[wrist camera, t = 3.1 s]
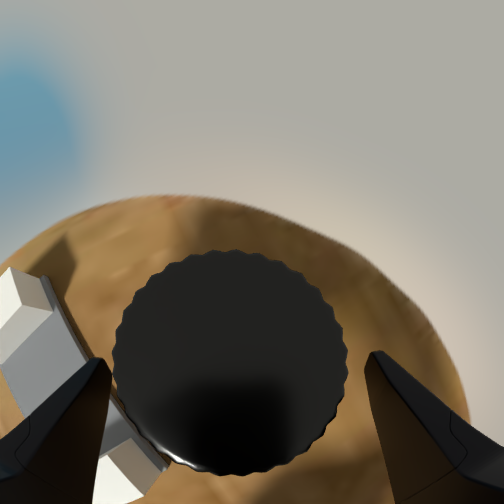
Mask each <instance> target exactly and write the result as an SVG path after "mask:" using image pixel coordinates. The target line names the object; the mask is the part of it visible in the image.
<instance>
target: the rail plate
mask: <svg viewBox="0 0 504 504" xmlns="http://www.w3.org/2000/svg"><path fill="white" fill-rule="evenodd" d="M88 361H89V358H88V357H87V355H86V353H85V352H84V350H83V348H82V346H81V345H80V343H79V341H78V339H77V337H76V335H75V334H74V332H73V330H72V328H71V326H70V324H69V322H68V320H67V318H66V316H65V314H64V312H63V310H62V308H61V306H60V303H59V301H58V299H57V297H56V295H55V292H54V290H53V288H52V285H51V283H50V281H49V278H48V276H45V275H43V276H42V277H41V278H40V279H39V278H36V277H34V276H31V275H29V274H26V273H24V272H21V271H19V270H16V269H14V268H12V267H9V268H8V269H7V270H6V271H5V273H4V274H3V275H2V276H1V277H0V368H1V371H2V373H3V375H4V378H5V380H6V382H7V384H8V386H9V388H10V391H11V393H12V395H13V397H14V399H15V401H16V403H17V405H18V407H19V408H20V410H21V412H22V414H23V416H24V418H26V417H27V416H28V415H30V414H31V413H32V412H33V411H34V410H35V409H36V408H37V407H38V406H39V405H40V404H41V403H42V402H44V401H45V400H46V399H47V398H48V397H49V396H50V395H51V394H52V393H53V392H54V391H55V390H57V389H58V388H59V387H60V386H61V385H62V384H63V383H64V382H65V381H66V380H68V379H69V378H70V377H71V376H72V375H73V374H74V373H75V372H76V371H77V370H79V369H80V368H81V367H82V366H83V365H84V364H85V363H86V362H88ZM168 467H169V465H168V464H167V463H166V462H165V461H164V460H163V459H162V457H161V456H160V455H159V454H158V453H157V452H156V451H155V450H154V448H153V447H152V446H151V445H150V444H149V443H148V441H147V440H146V439H145V438H143V437H142V436H140V435H139V433H138V431H137V428H136V427H135V426H134V424H133V423H132V422H131V421H130V420H129V419H128V417H127V416H126V414H125V413H124V411H123V410H122V408H121V407H120V406H119V404H118V403H117V402H116V400H115V399H114V397H113V396H112V394H111V393H110V400H109V408H108V415H107V420H106V425H105V430H104V434H103V439H102V444H101V450H100V455H99V461H98V467H97V473H96V479H95V486H94V494H93V502H92V504H126V503H129V502H131V501H134V500H136V499H138V498H141V497H143V496H144V495H145V494H146V493H147V491H148V490H149V489H150V487H151V486H152V485H153V483H154V482H155V481H156V479H157V478H158V477H159V475H160V474H161V472H163V471H165V470H167V469H168Z"/></svg>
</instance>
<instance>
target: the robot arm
mask: <svg viewBox="0 0 504 504" xmlns="http://www.w3.org/2000/svg"><path fill="white" fill-rule="evenodd" d="M364 374H365V379H366V384H367V390H368V395H369V401H370V407H371V411H372V415H373V419H374V422H375V426H376V429H377V433H378V436H379V440H380V444H381V447H382V451H383V455H384V459H385V463H386V467H387V471H388V475H389V479H390V483H391V487H392V492H393V496H394V501H395V504H504V447H503V446H500V445H499V444H497V443H496V442H494V441H493V440H491V439H490V438H488V437H487V436H485V435H484V434H482V433H481V432H480V431H478V430H476V429H475V428H474V427H472V426H471V425H470V424H468V423H467V422H466V421H465V420H463V419H462V418H461V417H460V416H459V415H457V414H456V413H455V412H454V411H453V410H451V409H450V408H449V407H448V406H447V405H446V404H444V403H443V402H442V401H441V400H440V399H439V398H438V397H436V396H435V395H434V394H433V393H432V392H431V391H429V390H428V389H427V388H426V387H425V386H424V385H422V384H421V383H420V382H419V381H418V380H417V379H415V378H414V377H413V376H412V375H411V374H410V373H408V372H407V371H406V370H405V369H404V368H402V367H401V366H400V365H399V364H398V363H397V362H395V361H394V360H393V359H392V358H391V357H390V356H388V355H387V354H386V353H385V352H384V351H381V350H379V351H373V352H371V353H370V354H369V357H368V359H367V362H366V365H365V368H364ZM111 384H112V372H111V370H110V369H109V367H108V365H107V363H106V361H105V360H104V359H103V358H100V357H92V358H91V359H90V360H89V361H88V362H86V363H85V364H84V365H83V366H82V367H81V368H80V369H79V370H77V371H76V372H75V373H74V374H73V375H72V376H71V377H70V378H69V379H68V380H66V381H65V382H64V383H63V384H62V385H61V386H60V387H59V388H58V389H57V390H55V391H54V392H53V393H52V394H51V395H50V396H49V397H48V398H47V399H46V400H45V401H44V402H42V403H41V404H40V405H39V406H38V407H37V408H36V409H35V410H34V411H33V412H32V413H31V414H30V415H28V416H27V417H26V418H25V419H24V420H23V421H22V422H21V423H20V424H19V425H18V426H16V427H15V428H14V429H13V430H12V431H10V432H9V433H8V434H7V435H5V436H4V437H3V438H2V439H0V504H92V502H93V494H94V486H95V479H96V473H97V467H98V461H99V455H100V450H101V444H102V439H103V434H104V430H105V425H106V420H107V415H108V408H109V400H110V392H111Z"/></svg>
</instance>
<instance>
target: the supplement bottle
mask: <svg viewBox="0 0 504 504" xmlns="http://www.w3.org/2000/svg"><path fill="white" fill-rule="evenodd" d="M342 339H343V328H342V327H341V326H340V324H339V323H338V322H337V321H336V320H335V316H334V311H333V307H332V306H330V305H329V304H328V303H326V302H325V301H324V300H323V298H322V295H321V292H320V290H319V289H318V288H316V287H315V286H312V285H310V284H309V283H308V282H307V281H306V279H305V277H304V276H303V275H302V273H299V272H297V271H293V270H291V269H289V268H288V267H287V266H286V265H285V264H284V263H283V262H282V261H277V260H270V259H268V258H266V257H265V256H263V255H262V254H260V253H253V254H246V253H244V252H242V251H240V250H237V249H235V250H231V251H229V252H221V251H217V250H212V251H209V252H207V253H205V254H204V255H189V256H188V257H186V258H185V259H184V260H183V261H181V262H173V263H169V264H168V265H167V266H166V267H165V269H164V270H163V271H162V272H161V273H157V274H154V275H152V276H151V277H150V278H149V280H148V282H147V283H146V285H145V287H143V288H141V289H139V290H138V291H136V292H135V295H134V297H133V301H132V303H131V304H130V305H129V306H128V307H127V308H126V309H125V310H124V312H123V317H122V323H121V324H120V325H119V326H118V328H117V329H116V344H115V346H114V348H113V350H112V356H113V360H114V368H113V373H112V375H113V377H114V380H115V382H116V384H117V396H118V398H119V399H120V401H121V402H122V404H123V405H124V408H125V413H126V416H127V417H128V419H129V420H130V421H131V422H133V423H134V424H135V426H136V428H137V431H138V433H139V435H140V436H142V437H143V438H145V439H146V440H148V441H149V442H150V443H151V444H152V446H153V447H154V449H155V450H156V451H158V452H160V453H162V454H165V455H167V456H168V457H169V458H170V459H171V460H172V461H173V462H175V463H177V464H181V465H187V466H189V467H190V468H191V469H193V470H195V471H196V472H210V473H212V474H214V475H217V476H226V475H230V474H233V475H237V476H246V475H249V474H251V473H253V472H260V473H262V472H267V471H269V470H271V469H272V468H274V467H275V466H279V465H286V464H288V463H289V462H291V461H292V460H293V459H294V457H295V456H297V455H300V454H303V453H305V452H307V451H308V450H309V448H310V447H311V444H312V443H313V442H314V441H316V440H317V439H319V438H320V437H322V436H323V435H324V433H325V430H326V426H327V425H328V424H329V423H330V422H331V421H332V420H333V419H334V418H335V417H336V414H337V405H338V404H339V403H340V402H341V400H342V399H343V397H344V383H345V381H346V379H347V376H348V369H347V366H346V363H345V362H346V358H347V353H348V350H347V348H346V345H345V344H344V342H343V340H342Z"/></svg>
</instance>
